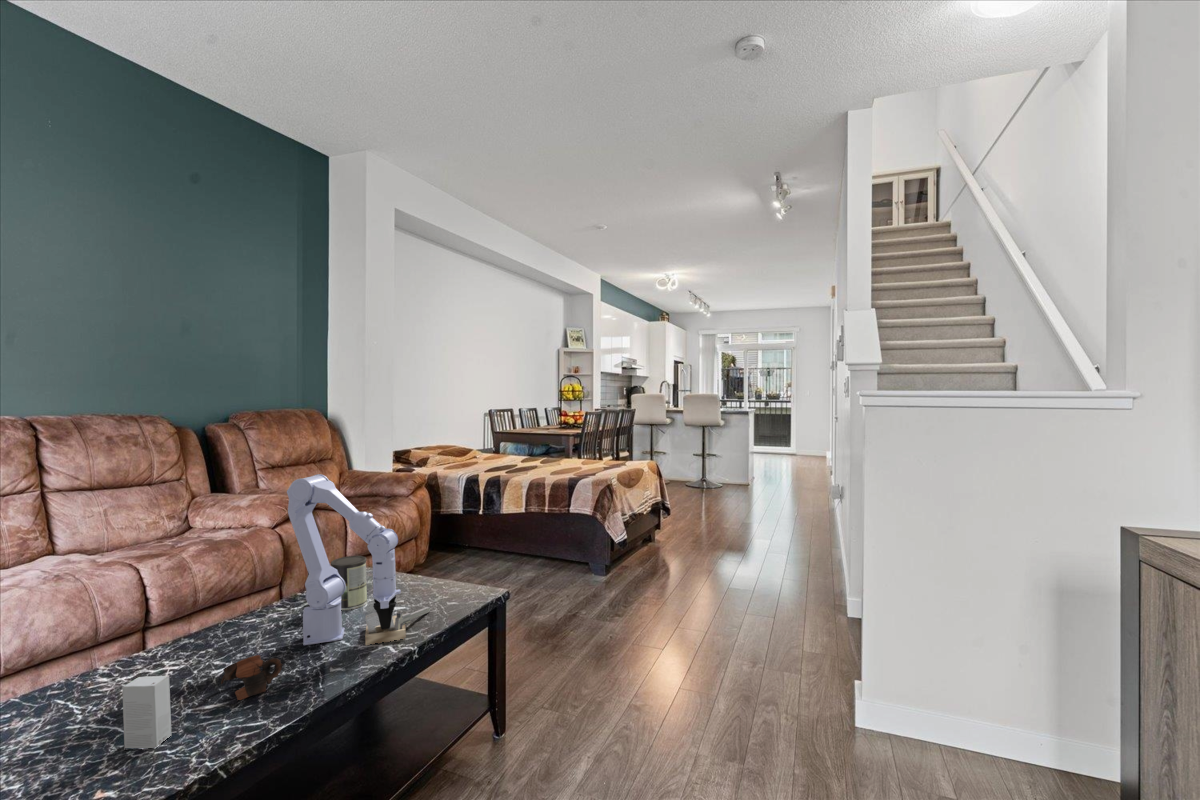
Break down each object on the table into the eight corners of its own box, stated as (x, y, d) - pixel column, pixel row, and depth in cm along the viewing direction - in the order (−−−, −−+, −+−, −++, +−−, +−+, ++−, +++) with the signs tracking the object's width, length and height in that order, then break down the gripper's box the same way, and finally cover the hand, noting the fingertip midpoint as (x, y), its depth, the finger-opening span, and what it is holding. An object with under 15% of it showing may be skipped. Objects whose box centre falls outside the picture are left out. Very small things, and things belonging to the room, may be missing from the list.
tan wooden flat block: (365, 645, 151) (365, 635, 151) (367, 628, 163) (367, 619, 163) (405, 639, 155) (405, 629, 155) (404, 622, 166) (404, 614, 166)
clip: (370, 639, 153) (365, 618, 153) (370, 636, 156) (365, 615, 155) (395, 631, 156) (390, 610, 155) (395, 628, 158) (390, 607, 157)
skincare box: (172, 736, 112) (170, 674, 112) (156, 749, 108) (154, 685, 108) (140, 737, 112) (138, 676, 112) (122, 751, 108) (120, 687, 107)
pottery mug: (221, 709, 123) (213, 670, 125) (234, 708, 131) (226, 671, 133) (283, 681, 128) (274, 645, 130) (292, 682, 136) (283, 648, 138)
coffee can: (329, 612, 176) (328, 566, 176) (334, 601, 186) (333, 557, 186) (366, 608, 179) (364, 562, 179) (368, 597, 189) (367, 554, 189)
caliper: (398, 638, 155) (398, 615, 155) (394, 638, 155) (394, 614, 155) (431, 610, 175) (431, 589, 175) (428, 610, 175) (427, 589, 175)
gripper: (400, 581, 150) (401, 634, 150) (399, 566, 164) (401, 614, 164) (371, 585, 148) (372, 638, 148) (373, 570, 162) (374, 618, 162)
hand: (385, 626), depth 156 cm, fingers closed on clip, 2 cm apart
